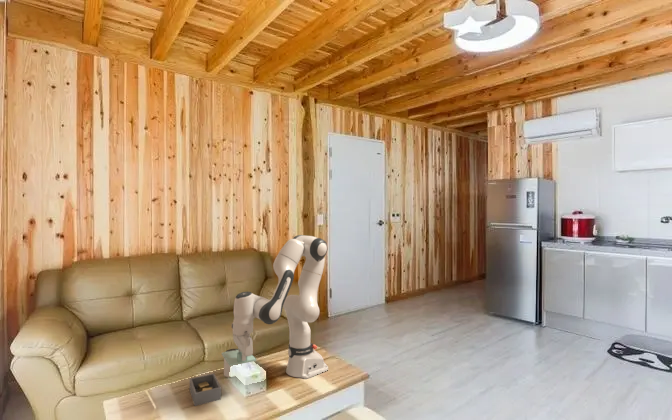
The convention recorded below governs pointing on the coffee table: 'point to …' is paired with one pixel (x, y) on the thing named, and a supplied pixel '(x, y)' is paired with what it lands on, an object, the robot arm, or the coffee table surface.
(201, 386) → the part
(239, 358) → the lid
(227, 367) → the jar
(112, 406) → the coffee table surface
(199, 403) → the tub
